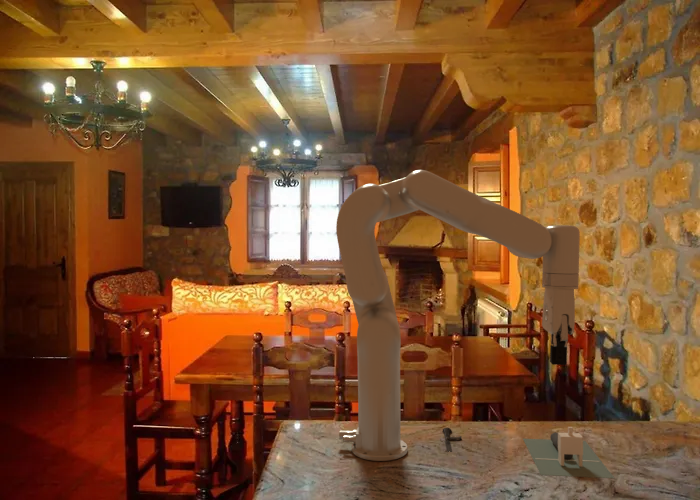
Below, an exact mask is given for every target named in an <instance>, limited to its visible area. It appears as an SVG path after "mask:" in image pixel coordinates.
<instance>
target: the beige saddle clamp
mask: <svg viewBox="0 0 700 500" xmlns="http://www.w3.org/2000/svg"><path fill="white" fill-rule="evenodd" d="M573 429H574V428H573V426H567V432H557V433H558V461H559V463H560V465H561V466H564V454H572V455H576V462H577V464H578V465H579V466H582V455H583V441H584V436H583V435H581V433H577V432H574V430H573Z"/></svg>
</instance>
